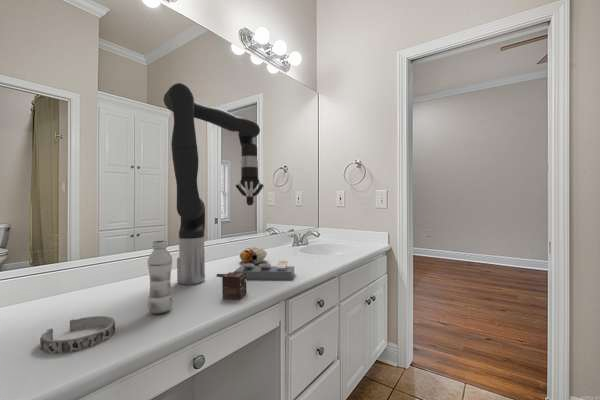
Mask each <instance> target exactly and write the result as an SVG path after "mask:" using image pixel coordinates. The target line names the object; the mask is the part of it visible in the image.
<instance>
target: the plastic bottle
mask: <svg viewBox="0 0 600 400" xmlns="http://www.w3.org/2000/svg"><path fill="white" fill-rule="evenodd" d="M167 248H168V242H167V240H155V241H152V252H151V253H150V254H149V256H148V258H147V268H148V274H149V276H148V277H149V296H148V299H147V300H148V301H147V309H148V311H149V312H150V313H151V314H154V315H157V314H164V313H166V312H169V311H171V309H172V307H173V305H174V304H173V303H174V299H173V298H174V297H173V293H172V284H171V281H172V280H171V276H172V275H171V273H172V266H173V257H172V255H171V253H170V252H169V251H168V250H167Z"/></svg>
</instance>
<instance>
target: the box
mask: <svg viewBox="0 0 600 400" xmlns="http://www.w3.org/2000/svg"><path fill="white" fill-rule="evenodd" d="M224 274H225V275H224V276H221V278H222V281H221V283H222V284H221V286H222V299H223V300H241V299H243V298H244V297H245V296H246V295H247V292H248V291H247V289H248V288H247V280H246V272H234V271H229V272H227V273H224Z"/></svg>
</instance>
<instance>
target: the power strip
mask: <svg viewBox="0 0 600 400" xmlns="http://www.w3.org/2000/svg"><path fill="white" fill-rule="evenodd" d="M276 268H277V265H276V266H274V265H273V266H272V265H271V267H270V268H260V266H259V265H254V267H253V268H244V266H242V265H240V266H238V268H237V269H235V270H234V271H233V272H246V281H247V280H251V281H252V280H254V281H255V280H257V281H258V280H259V281H261V280H263V281H265V280H267V281H292V280H293V279H294V276H295V265H293V266H292V265H290V266H288V265H287V268H286V270H277V269H276ZM225 274H226V273H217V274H216V275H215V276H216V277H222V276H224V275H225Z"/></svg>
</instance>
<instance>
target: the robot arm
mask: <svg viewBox="0 0 600 400" xmlns="http://www.w3.org/2000/svg"><path fill="white" fill-rule="evenodd" d="M163 103H164V105H165V107H166V108H167V109H168V110H169V111H170V112H172V114H173V128H172V136H171V153H172V154H171V155H172V163H173V164H172V165H173V171H174V172H173V173H174V177H175V182H176V212H177V214H178V215H179V217H180V226H179V230H178V252H179V253H178V256H179V257H177V258H176V270H177V271H176V278H177V280H176V281H177V283H176V284H181V285H186V286H188V285H197V284H201V283H204V282H205V280H206V269H205V268H206V267H205V266H206V265H205V263H206V260H205V259H206V257H205V254H206V252H205V231H206V230H205V229H206V207H205V203H204V201H203V200H202V199H201V198H200V194H199V189H198V172H199V151H198V145H197V144H198V143H197V136H196V135H197V134H196V126H195V119H198V120H200V121H201V120H202V121H204V122H207V123H210V124H212V125H215V126H217V127H219V128H222V129H224V130H227V131H228V132H234V133H235V132H238V139H239V143H240V147H241V149H240V150H241V160H240V175H241V176H240V178H241V179H240V182H239V183H238V184H236V185H235V187H236V189H237V190H238V191H239V193H240V195H242V196H245V198H246V204H247V206H253V205H254V197H256V196H258V195H259V194H260V193H261V192H262V190H263V188H264V187H265V185H264V184H262V183H261V182H260V179H259V161H258V160H259V159H258V146H257V144H255V143H254V140H253V138H256V137H257V136H259V134H260V132H261V129H260V125H258V123H257V122H255V121H254V120H251V119H249V118H245V117H241V116H237V115H234V114H233V113H231V112H229V111H226V110H224V109H221V108H217V107H212V106H207V105H203V104H200V103H198V102H196V101H195V97H194V94H193V91H192V90H191V88H190V87H189V86H188V85H187V84H186V83H182V82H177V83H174V84H172V85H171V86H170V87H169V89H167V91H166V93H164V95H163ZM243 188H244V189H245V190H244V189H243ZM255 189H256V190H255Z"/></svg>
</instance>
